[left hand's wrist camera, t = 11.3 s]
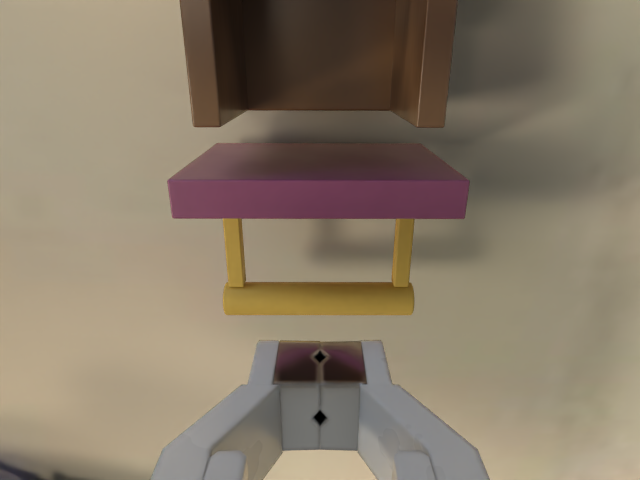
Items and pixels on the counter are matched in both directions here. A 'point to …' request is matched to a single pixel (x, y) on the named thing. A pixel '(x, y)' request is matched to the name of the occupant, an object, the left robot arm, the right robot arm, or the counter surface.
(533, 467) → the counter surface
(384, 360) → the left robot arm
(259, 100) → the drawer
